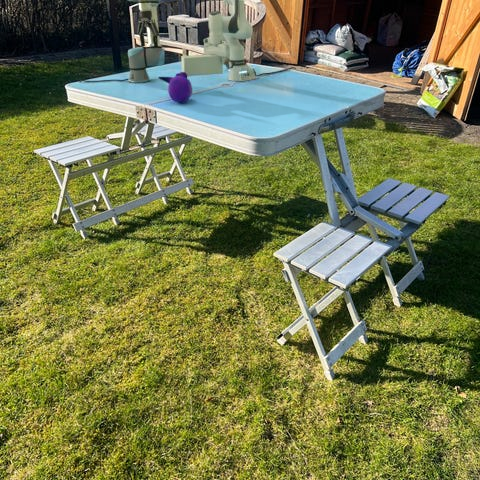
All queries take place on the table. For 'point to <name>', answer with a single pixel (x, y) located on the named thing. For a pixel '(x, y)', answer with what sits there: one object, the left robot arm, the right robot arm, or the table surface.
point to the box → (202, 65)
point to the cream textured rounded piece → (227, 62)
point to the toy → (178, 87)
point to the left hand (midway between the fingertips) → (149, 47)
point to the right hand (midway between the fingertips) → (217, 63)
